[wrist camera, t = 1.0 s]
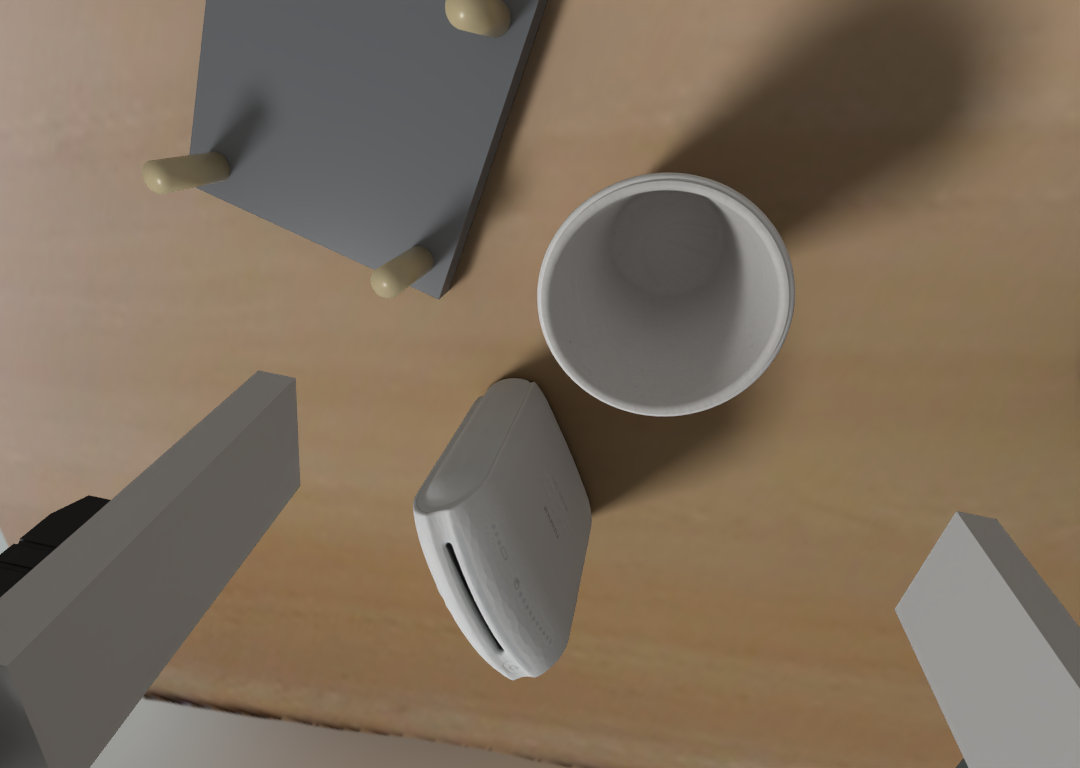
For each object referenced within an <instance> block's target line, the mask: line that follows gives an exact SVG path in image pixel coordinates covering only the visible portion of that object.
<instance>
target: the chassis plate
mask: <svg viewBox="0 0 1080 768" xmlns="http://www.w3.org/2000/svg"><path fill="white" fill-rule="evenodd" d="M547 1H548V0H206V6H205V15H204V25H203V34H202V43H201V53H200V62H199V71H198V81H197V90H196V99H195V109H194V118H193V127H192V137H191V146H190V155H187V156H180V157H173V158H166V159H159V160H152V161H148V162H146V163H145V164H144V166H143V169H142V175H143V179H144V182H145V183H146V185H147V186H148V187H149V189H151V190H152V191H153V192H155V193H157V194H165V193H170V192H175V191H180V190H184V189H189V188H194V187H196V188H198V189H200V190H202V191H204V192H206V193H209V194H211V195H213V196H215V197H217V198H219V199H222V200H224V201H226V202H228V203H230V204H233V205H235V206H237V207H239V208H241V209H243V210H246V211H248V212H250V213H252V214H254V215H256V216H259V217H261V218H263V219H265V220H267V221H269V222H272V223H274V224H276V225H278V226H280V227H283V228H285V229H287V230H289V231H291V232H293V233H296V234H298V235H300V236H302V237H304V238H306V239H309V240H311V241H313V242H315V243H317V244H319V245H322V246H324V247H326V248H328V249H330V250H333V251H335V252H337V253H339V254H341V255H343V256H346V257H348V258H350V259H352V260H354V261H356V262H359V263H361V264H363V265H365V266H367V267H369V268H372V269H374V271H373V273H372V275H371V286H372V288H373V290H374V291H375V292H376V293H377V294H378V295H379V296H381V297H383V298H393V297H395V296H396V295H398V294H399V293H401V292H402V291H403V290H405V289H406V288H407V287H409V286H411V287H413V288H415V289H417V290H419V291H422V292H424V293H426V294H428V295H430V296H433V297H435V298H437V299H440V298H441V297H442V296H443V295H444V294H446V293H447V292H448V291H449V289H450V286H451V283H452V280H453V277H454V274H455V271H456V268H457V265H458V262H459V259H460V256H461V253H462V250H463V247H464V244H465V242H466V239H467V236H468V233H469V230H470V227H471V224H472V221H473V218H474V215H475V212H476V209H477V206H478V203H479V200H480V198H481V195H482V192H483V189H484V186H485V183H486V180H487V177H488V174H489V171H490V168H491V165H492V162H493V159H494V156H495V153H496V151H497V148H498V145H499V142H500V139H501V136H502V133H503V130H504V127H505V124H506V121H507V118H508V115H509V112H510V109H511V107H512V104H513V101H514V98H515V95H516V92H517V89H518V86H519V83H520V80H521V77H522V74H523V71H524V68H525V65H526V62H527V60H528V57H529V54H530V51H531V48H532V45H533V42H534V39H535V36H536V33H537V30H538V27H539V24H540V21H541V18H542V16H543V13H544V10H545V7H546V4H547Z"/></svg>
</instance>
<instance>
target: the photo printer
mask: <svg viewBox="0 0 1080 768" xmlns="http://www.w3.org/2000/svg"><path fill="white" fill-rule="evenodd" d="M413 511H414V518H415V524H416V529H417V533H418V537H419V541H420V544H421V547H422V550H423V553H424V555H425V558H426V561H427V564H428V566H429V569H430V571H431V574H432V576H433V578H434V581H435V583H436V585H437V588H438V591H439V593H440V595H441V596H442V597H443V599H444V601H445V604H446V607H447V608H448V609H449V610H450V612H451V614H452V616H453V618H454V619H455V621H456V623H457V624H458V626H459V627H460V629H461V631H462V632H463V634H464V635H465V636H466V638H467V639H468V641H469V642H470V643H471V645H472V646H473V647H474V648H475V650H476V651H477V652H478V653H479V654H480V655H481V656H482V658H483V659H484V660H486V661H487V662H488V663H489V664H490V665H491V666H492V667H493V668H494V669H496V670H497V671H498V672H500V673H501V674H503V675H504V676H506V677H507V678H509V679H511V680H516V679H518V678H520V677H525V676H530V677H537V676H540V675H541V674H543V673H544V672H546V671H547V670H548V669H549V668H551V667H552V666H553V665H554V664H555V663H556V661H557V660H558V659H559V658H560V656H561V655H562V653H563V652H564V650H565V648H566V645H567V643H568V640H569V635H570V630H571V625H572V621H573V616H574V611H575V606H576V601H577V596H578V591H579V586H580V581H581V576H582V571H583V566H584V561H585V555H586V550H587V545H588V540H589V534H590V529H591V522H592V516H591V509H590V504H589V500H588V497H587V494H586V491H585V488H584V486H583V483H582V481H581V478H580V475H579V473H578V470H577V468H576V465H575V463H574V460H573V458H572V455H571V453H570V451H569V448H568V446H567V444H566V441H565V439H564V437H563V434H562V432H561V430H560V428H559V426H558V423H557V421H556V419H555V417H554V415H553V412H552V410H551V408H550V406H549V404H548V402H547V400H546V398H545V396H544V394H543V393H542V391H541V389H540V388H539V387H538V385H537V384H536V383H535V382H531V383H530V382H529V381H527V380H524V379H518V378H509V379H503V380H500V381H498V382H496V383H495V384H493V385H492V386H491V387H490V388H489V389H488V390H487V392H486V393H485V395H484V396H481V397H479V398H478V399H477V400H476V401H475V402H474V404H473V405H472V407H471V408H470V410H469V412H468V413H467V415H466V416H465V418H464V420H463V421H462V423H461V425H460V426H459V428H458V429H457V431H456V432H455V434H454V436H453V437H452V439H451V440H450V442H449V444H448V445H447V447H446V448H445V450H444V452H443V453H442V455H441V456H440V458H439V459H438V461H437V462H436V464H435V466H434V467H433V469H432V470H431V472H430V474H429V475H428V477H427V478H426V480H425V481H424V483H423V485H422V486H421V488H420V489H419V491H418V493H417V494H416V496H415V498H414V502H413Z"/></svg>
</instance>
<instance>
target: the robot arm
mask: <svg viewBox="0 0 1080 768" xmlns="http://www.w3.org/2000/svg"><path fill="white" fill-rule="evenodd" d="M299 487H300V469H299V446H298V423H297V401H296V378H293V377H288V376H283V375H278V374H273V373H268V372H263V371H257V372H256V373H255V374H254V375H253V376H252V377H251V378H249V379H248V380H247V381H246V382H245V383H244V384H243V385H241V386H240V387H239V388H238V389H237V390H236V391H235V392H233V393H232V394H231V395H230V396H229V397H228V398H227V399H226V400H224V401H223V402H222V403H221V404H220V405H219V406H218V407H216V408H215V409H214V410H213V411H212V412H211V413H210V414H208V415H207V416H206V417H205V418H204V419H203V420H202V421H201V422H199V423H198V424H197V425H196V426H195V427H194V428H193V429H191V430H190V431H189V432H188V433H187V434H186V435H185V436H183V437H182V438H181V439H180V440H179V441H178V442H177V443H175V444H174V445H173V446H172V447H171V448H170V449H169V450H168V451H166V452H165V453H164V454H163V455H162V456H161V457H160V458H158V459H157V460H156V461H155V462H154V463H153V464H152V465H150V466H149V467H148V468H147V469H146V470H145V471H144V472H143V473H141V474H140V475H139V476H138V477H137V478H136V479H135V480H133V481H132V482H131V483H130V484H129V485H128V486H127V487H125V488H124V489H123V490H122V491H121V492H120V493H119V494H117V495H116V496H115V497H114V498H113V499H112V500H108V499H103V498H98V497H94V496H87V497H85V498H83V499H80V500H78V501H76V502H74V503H72V504H70V505H68V506H66V507H64V508H62V509H60V510H58V511H56V512H54V513H51V514H50V515H49V516H47V517H46V518H45V519H44V520H42V521H41V522H40V523H39V524H37V525H36V526H35V527H34V528H33V529H31V530H30V531H29V532H28V533H26V534H25V535H24V536H23V537H21V538H20V541H19V543H18V544H13V545H12V546H10V547H9V548H8V549H7V550H5V551H4V552H3V553H2V554H1V555H0V768H90V766H91V765H92V764H93V762H94V761H95V760H96V758H97V757H98V756H99V754H100V753H101V751H102V750H103V749H104V747H105V746H106V745H107V744H108V742H109V741H110V740H111V738H112V737H113V736H114V734H115V733H116V732H117V730H118V729H119V728H120V726H121V725H122V724H123V722H124V721H125V719H126V718H127V717H128V716H129V714H130V713H131V712H132V710H133V709H134V707H135V706H136V705H137V703H138V702H139V701H140V700H141V698H142V697H143V696H144V694H145V693H146V691H147V690H148V689H149V687H150V686H151V685H152V683H153V682H154V681H155V679H156V678H157V677H158V675H159V674H160V673H161V671H162V670H163V669H164V667H165V666H166V665H167V663H168V662H169V661H170V659H171V658H172V657H173V655H174V654H175V653H176V651H177V650H178V649H179V647H180V646H181V645H182V643H183V642H184V641H185V639H186V638H187V637H188V635H189V634H190V633H191V631H192V630H193V629H194V627H195V626H196V625H197V623H198V622H199V621H200V619H201V618H202V617H203V615H204V614H205V613H206V611H207V610H208V609H209V607H210V606H211V604H212V603H213V602H214V600H215V599H216V598H217V596H218V595H219V594H220V592H221V591H222V590H223V588H224V587H225V586H226V584H227V583H228V582H229V580H230V579H231V578H232V576H233V575H234V574H235V572H236V571H237V570H238V568H239V567H240V566H241V564H242V563H243V562H244V560H245V559H246V558H247V556H248V555H249V554H250V552H251V551H252V550H253V548H254V547H255V546H256V544H257V543H258V542H259V540H260V539H261V538H262V536H263V535H264V534H265V532H266V531H267V530H268V528H269V527H270V526H271V524H272V523H273V522H274V520H275V519H276V517H277V516H278V515H279V513H280V512H281V511H282V509H283V508H284V507H285V505H286V504H287V503H288V501H289V500H290V499H291V497H292V496H293V495H294V493H295V492H296V491H297V489H298V488H299ZM895 611H896V613H897V615H898V618H899V620H900V622H901V624H902V626H903V628H904V630H905V633H906V635H907V637H908V639H909V641H910V643H911V646H912V648H913V650H914V652H915V654H916V656H917V658H918V661H919V663H920V665H921V667H922V669H923V671H924V673H925V676H926V678H927V680H928V682H929V684H930V686H931V688H932V691H933V693H934V695H935V697H936V699H937V701H938V704H939V706H940V708H941V710H942V712H943V714H944V716H945V719H946V721H947V723H948V725H949V727H950V729H951V731H952V734H953V736H954V738H955V740H956V742H957V744H958V746H959V749H960V751H961V753H962V755H963V757H964V758H963V759H962V760H961V762H960V763H959V764H958V765H957V767H956V768H1080V627H1079V626H1078V625H1077V623H1076V622H1075V621H1074V620H1073V618H1072V617H1071V616H1070V614H1069V613H1068V612H1067V610H1066V609H1065V608H1064V607H1063V605H1062V604H1061V603H1060V601H1059V600H1058V599H1057V597H1056V596H1055V595H1054V594H1053V592H1052V591H1051V590H1050V588H1049V587H1048V586H1047V584H1046V583H1045V582H1044V580H1043V579H1042V578H1041V577H1040V575H1039V574H1038V573H1037V571H1036V570H1035V569H1034V567H1033V566H1032V565H1031V564H1030V562H1029V561H1028V560H1027V558H1026V557H1025V556H1024V554H1023V553H1022V552H1021V551H1020V549H1019V548H1018V547H1017V545H1016V544H1015V543H1014V541H1013V540H1012V539H1011V537H1010V536H1009V535H1008V534H1007V532H1006V531H1005V530H1004V528H1003V527H1002V526H1001V524H1000V523H999V522H998V521H997V519H993V518H988V517H983V516H978V515H973V514H968V513H963V512H958V511H956V513H955V514H954V516H953V517H952V519H951V520H950V522H949V524H948V525H947V527H946V528H945V530H944V532H943V533H942V535H941V536H940V538H939V540H938V541H937V543H936V544H935V546H934V548H933V549H932V551H931V552H930V554H929V555H928V557H927V559H926V560H925V562H924V563H923V565H922V567H921V568H920V570H919V571H918V573H917V575H916V576H915V578H914V579H913V581H912V583H911V584H910V586H909V587H908V589H907V590H906V592H905V594H904V595H903V597H902V598H901V600H900V602H899V603H898V605H897V606H896V608H895Z"/></svg>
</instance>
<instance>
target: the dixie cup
mask: <svg viewBox="0 0 1080 768" xmlns="http://www.w3.org/2000/svg"><path fill="white" fill-rule="evenodd" d="M537 303H538V313H539V319H540V324H541V328H542V331H543V334H544V337H545V339H546V342H547V344H548V346H549V348H550V350H551V352H552V354H553V356H554V357H555V359H556V360H557V362H558V363H559V365H560V366H561V367H562V369H563V370H564V371H565V372H566V374H567V375H568V376H569V377H570V378H571V379H572V380H573V381H574V382H575V383H576V384H577V385H579V386H580V387H581V388H582V389H584V390H585V391H586V392H588V393H589V394H590V395H592V396H594V397H595V398H597V399H599V400H600V401H602V402H604V403H606V404H608V405H611V406H613V407H615V408H618V409H621V410H624V411H628V412H631V413H636V414H641V415H648V416H680V415H687V414H692V413H696V412H700V411H704V410H707V409H710V408H712V407H715V406H717V405H720V404H722V403H724V402H726V401H728V400H730V399H731V398H733V397H735V396H736V395H738V394H739V393H741V392H742V391H744V390H745V389H746V388H748V387H749V386H750V385H751V384H752V383H754V382H755V381H756V380H757V379H758V378H759V377H760V376H761V375H762V374H763V373H764V372H765V370H766V369H767V368H768V367H769V366H770V364H771V363H772V361H773V360H774V359H775V357H776V356H777V354H778V352H779V351H780V349H781V347H782V345H783V343H784V341H785V338H786V336H787V333H788V331H789V328H790V324H791V321H792V316H793V311H794V303H795V282H794V274H793V268H792V264H791V260H790V257H789V254H788V251H787V249H786V246H785V244H784V242H783V240H782V238H781V236H780V234H779V233H778V231H777V230H776V228H775V227H774V225H773V224H772V222H771V221H770V220H769V219H768V217H767V216H766V215H765V214H764V213H763V212H762V211H761V210H760V209H759V208H758V207H757V206H756V205H755V204H754V203H753V202H751V201H750V200H749V199H748V198H746V197H745V196H743V195H742V194H740V193H739V192H737V191H736V190H734V189H732V188H730V187H728V186H726V185H724V184H722V183H719V182H717V181H714V180H711V179H708V178H705V177H701V176H697V175H692V174H685V173H671V172H665V173H652V174H645V175H640V176H636V177H632V178H628V179H625V180H622V181H620V182H617V183H615V184H613V185H610V186H608V187H606V188H604V189H603V190H601V191H599V192H597V193H596V194H594V195H593V196H591V197H590V198H589V199H587V200H586V201H585V202H583V203H582V204H581V205H580V206H579V207H578V208H576V209H575V210H574V211H573V212H572V213H571V214H570V215H569V217H568V218H567V219H566V220H565V221H564V223H563V224H562V225H561V227H560V228H559V229H558V231H557V232H556V234H555V236H554V237H553V239H552V241H551V243H550V245H549V247H548V249H547V251H546V254H545V256H544V259H543V262H542V266H541V270H540V274H539V280H538V290H537Z"/></svg>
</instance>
